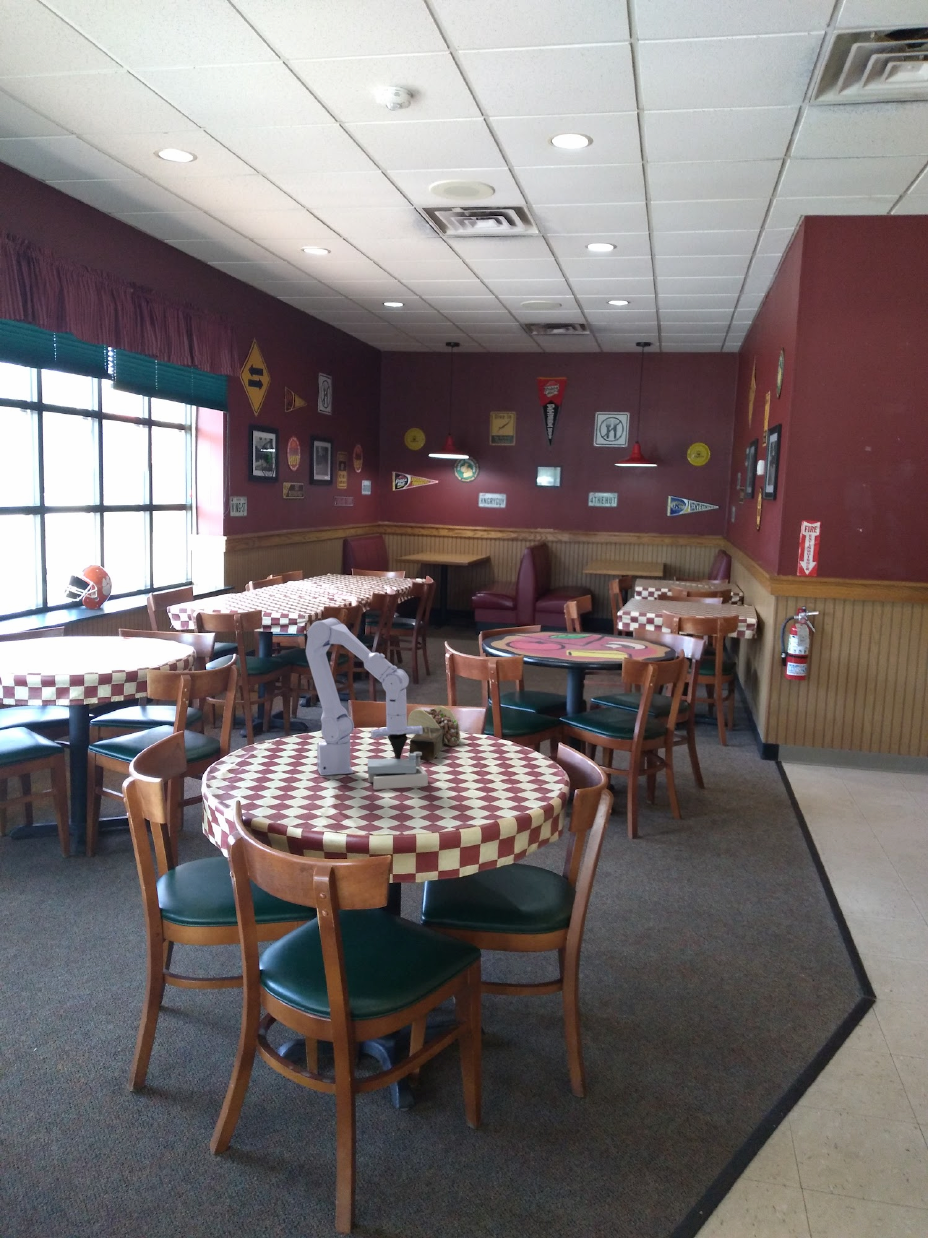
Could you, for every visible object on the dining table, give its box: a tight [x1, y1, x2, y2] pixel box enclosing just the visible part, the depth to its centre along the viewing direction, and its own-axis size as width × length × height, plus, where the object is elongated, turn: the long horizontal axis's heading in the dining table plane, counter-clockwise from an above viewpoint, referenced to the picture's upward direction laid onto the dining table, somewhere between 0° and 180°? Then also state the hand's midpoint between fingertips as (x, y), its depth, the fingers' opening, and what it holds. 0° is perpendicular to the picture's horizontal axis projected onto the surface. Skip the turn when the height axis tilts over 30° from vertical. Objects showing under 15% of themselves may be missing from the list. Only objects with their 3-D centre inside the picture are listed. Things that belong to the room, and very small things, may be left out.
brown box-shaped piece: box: [408, 726, 445, 762], centre depth 286 cm, size 8×19×7 cm, turn 171°
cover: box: [367, 752, 422, 774], centre depth 256 cm, size 15×10×3 cm, turn 96°
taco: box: [407, 705, 461, 747], centre depth 305 cm, size 10×27×10 cm, turn 34°
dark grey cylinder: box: [376, 773, 406, 777], centre depth 254 cm, size 8×3×3 cm, turn 107°
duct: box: [367, 756, 429, 790], centre depth 254 cm, size 15×10×6 cm, turn 107°
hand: (397, 760), depth 259 cm, fingers closed, pressing on cover
